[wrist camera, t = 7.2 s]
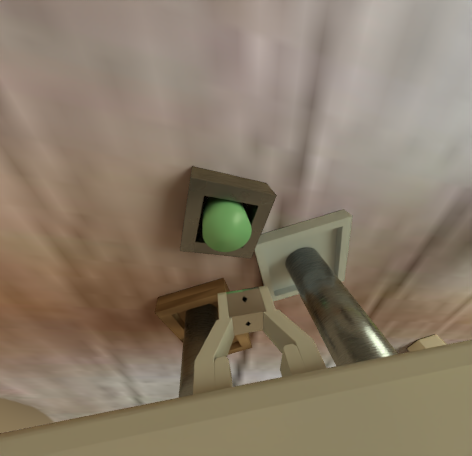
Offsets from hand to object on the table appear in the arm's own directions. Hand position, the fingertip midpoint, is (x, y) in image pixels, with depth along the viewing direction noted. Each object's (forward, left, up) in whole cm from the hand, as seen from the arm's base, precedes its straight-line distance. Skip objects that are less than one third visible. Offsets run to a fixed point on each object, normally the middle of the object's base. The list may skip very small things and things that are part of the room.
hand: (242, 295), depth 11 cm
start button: (-1, -1, -9) cm, 9 cm away
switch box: (-1, -1, -10) cm, 10 cm away
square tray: (+4, +11, -10) cm, 15 cm away
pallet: (+18, +2, -10) cm, 21 cm away
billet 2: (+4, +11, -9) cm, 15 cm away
